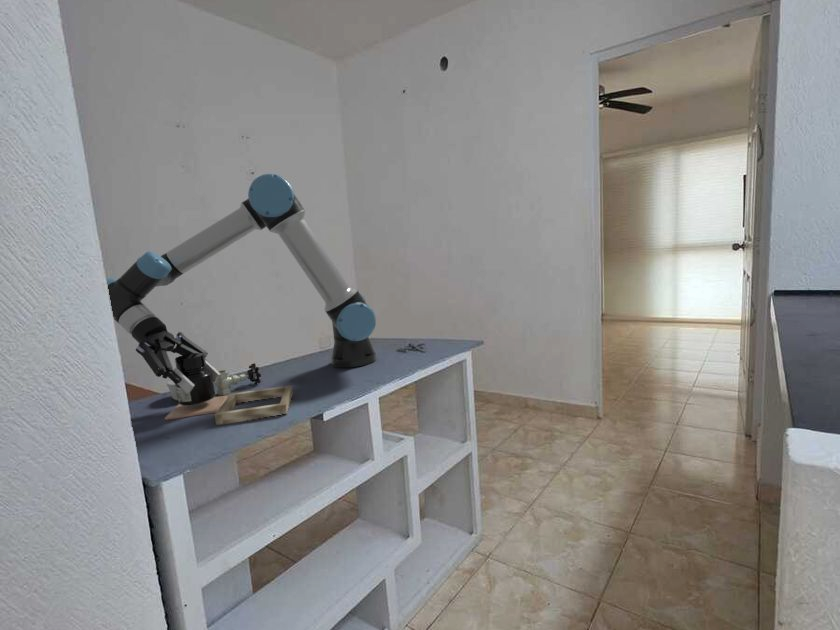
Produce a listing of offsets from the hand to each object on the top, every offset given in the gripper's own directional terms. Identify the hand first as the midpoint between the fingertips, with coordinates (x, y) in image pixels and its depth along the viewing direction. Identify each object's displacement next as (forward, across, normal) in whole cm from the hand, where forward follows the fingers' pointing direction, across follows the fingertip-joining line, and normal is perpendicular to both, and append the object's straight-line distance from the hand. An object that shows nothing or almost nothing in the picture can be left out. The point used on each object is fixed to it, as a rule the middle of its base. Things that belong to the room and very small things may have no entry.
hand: (204, 383), depth 113 cm
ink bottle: (+1, 0, -6) cm, 6 cm away
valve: (+4, -15, -6) cm, 17 cm away
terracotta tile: (+2, 0, -7) cm, 7 cm away
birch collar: (+15, 0, +6) cm, 16 cm away
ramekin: (-5, -10, -15) cm, 18 cm away
